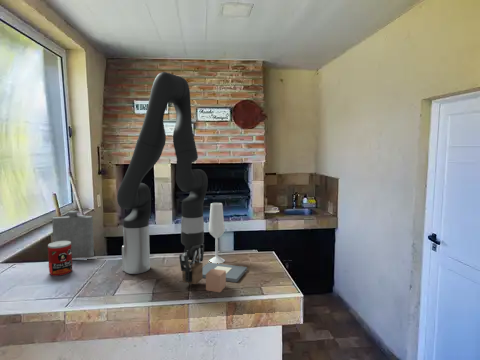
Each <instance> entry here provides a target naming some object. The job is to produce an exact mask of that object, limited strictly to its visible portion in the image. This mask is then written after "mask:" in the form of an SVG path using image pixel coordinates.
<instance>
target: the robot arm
mask: <svg viewBox="0 0 480 360" xmlns="http://www.w3.org/2000/svg"><path fill="white" fill-rule="evenodd" d="M190 92H191V91H190V86H189V83H188V81H187V80H186V79H185V77H182V76H179V75H176V74H172V73H170V72H166V71H162V72H159V73H158V74H157V75H156V77H155V79H154V80H153V83H152V86H151V90H150V94H149V95H150V96H149V100H148V105H147V108H146V113H145V116H144V119H143V123H142V127H141V129H140V132H139V134H138V137H137V139H136V140H137V141H136V144H135V146H134V151H133V153H132V156H131V159H130V162H129V164H128V168H127V170H126V172H125V175H124V176H123V178H122V181H121V183H120V186H119V188H118V190H117V194H116V198H117V199H116V200H117V205H118V206H119V208H121V209H122V210H123V209H124V210H131V212H130V213H129V214H127V216H126V217H124V218H123V220H122V225H123V226H122V227H123V228H122V229H123V232H122V233H123V245H122V246H121V263H122V265H121V266H122V267H121V269H122V271H123V272H125V273H126V274H130V275H136V274H142V273H147V271H150V268H151V259H150V257H151V256H150V252H151V251H150V227H149V226H150V220H151V219H150V218H151V214H152V193H151V190H150V187H149V186H148V185H147V184H145V183H143V182H142V181H143V179H144V178H145V176H146V175H147V174H148V173H149V171H151V169H152V168H153V167H154V166H155V165H157V163H158V162H159V160H160V158H161V156H162V153H163V150H164V148H165V145H166V141H167V137H166V129H165V123H164V117H165V112H166V109H167V106H168V104H173V107H174V109H175V114H176V120H175V126H174V129H173V134H172V142H173V143H172V144H173V148H174V153H175V157H176V168H175V182H176V184H177V187H178V189H180V190H181V191H182V192H186V193H187V192H188V193H189V195H188V196H187V197H186V198H183V199H182V201H181V219H180V220H181V221H180V243H181V244H182V245H183V246H184V250H183V253H182V254H179V256H178V257H179V263H180V270H181V272H182V271H185V281H186V282H192V267H193V264H194V263H195V262H198V263H202V262H203V261H204V253H205V244H204V243H205V236H204V235H205V233H204V232H205V221H204V202H205V198H206V194H207V190H208V187H209V184H208V182H209V180H208V176H207V175H208V174H206V172H205V171H204V170H202V169H201V168H200V169H199V168H195V169H192V166H193V165H192V163H194V162H196V161H197V160H198V158H199V154H198V150H197V146H196V145H197V144H196V141H195V136H194V132H193V130H194V129H193V122H192V121H193V120H192V103H191V93H190ZM190 261H191V262H190ZM189 264H190V268H189Z"/></svg>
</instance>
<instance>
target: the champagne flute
mask: <svg viewBox="0 0 480 360" xmlns="http://www.w3.org/2000/svg"><path fill="white" fill-rule="evenodd" d="M209 209H210V210H209V219H208V232H209V234H210V235H211V236H212V237H213V238H214V239H215V241H214V242H215V245H214V247H215V248H214V249H215V250H214V251H215V255H214V256H213V257H212V258H210V259H209V260H208V262H209V261H210V262H212V263H218V264H224V262H225V261H226V260H225V259H224V258H222V257H221V256H219V238H221V237H222V235H223V234H224V233H225V231H226V229H225V219H224V218H225V217H224V206H223V203H222V202H212V203H210V207H209ZM210 262H209V263H210Z"/></svg>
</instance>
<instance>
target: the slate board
mask: <svg viewBox="0 0 480 360" xmlns="http://www.w3.org/2000/svg"><path fill="white" fill-rule="evenodd" d="M211 269H217V270H225V271H226V282H231V283H238V282H239V280H240V279H241V278H242V277H243V276H244V274H245V273H246V272H247V271H248V267H247V266H241V265H239V266H238V265H234V264H232V265H231V264H224V263H218V264H217V263H210V262H207V263H206V264H205V265H203V279H206V274H207V273H208V272H209V271H210V270H211Z"/></svg>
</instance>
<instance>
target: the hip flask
mask: <svg viewBox="0 0 480 360" xmlns="http://www.w3.org/2000/svg"><path fill="white" fill-rule="evenodd" d="M78 213H79V212H78V210H70V211H68V212H67V214H68V216H64V215H63V216H55V217H54V216H53V217H52V218H51V220H52V221H51V222H52V239H53V240H52V241H53V242H56V241H70V242H71V249H72V259H80V258H83V259H86V258H88V259H91V258H93V257H95V253H94V251H95V245H94V223H93V222H94V221H93V220H94V219H93V216H92V215H82V214H78Z"/></svg>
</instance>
